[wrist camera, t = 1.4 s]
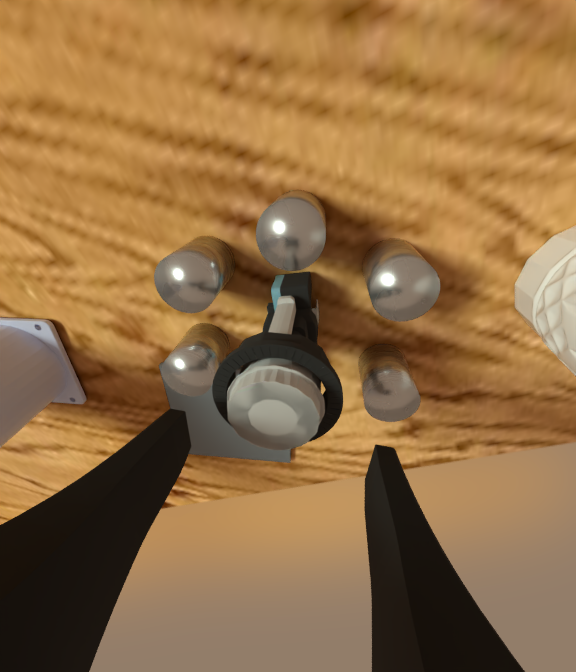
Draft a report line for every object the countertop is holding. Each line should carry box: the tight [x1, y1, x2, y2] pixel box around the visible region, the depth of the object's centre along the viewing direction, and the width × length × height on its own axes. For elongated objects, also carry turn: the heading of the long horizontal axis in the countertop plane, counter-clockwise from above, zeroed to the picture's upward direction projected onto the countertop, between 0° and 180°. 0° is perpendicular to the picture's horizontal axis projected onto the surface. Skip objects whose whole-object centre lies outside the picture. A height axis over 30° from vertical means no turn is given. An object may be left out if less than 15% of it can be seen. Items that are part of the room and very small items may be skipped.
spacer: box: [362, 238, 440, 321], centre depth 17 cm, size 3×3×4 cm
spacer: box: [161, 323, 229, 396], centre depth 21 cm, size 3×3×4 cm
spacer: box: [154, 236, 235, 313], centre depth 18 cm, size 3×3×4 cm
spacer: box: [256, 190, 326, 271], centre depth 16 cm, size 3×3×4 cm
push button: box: [212, 272, 343, 450], centre depth 16 cm, size 7×5×10 cm
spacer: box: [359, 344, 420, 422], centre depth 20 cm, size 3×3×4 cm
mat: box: [159, 363, 291, 463], centre depth 26 cm, size 10×10×1 cm
